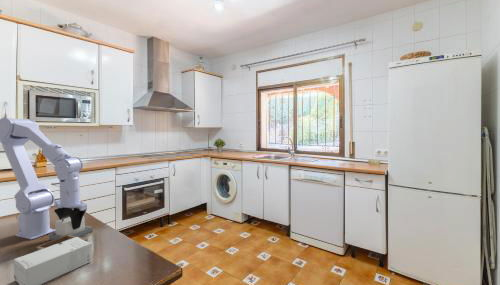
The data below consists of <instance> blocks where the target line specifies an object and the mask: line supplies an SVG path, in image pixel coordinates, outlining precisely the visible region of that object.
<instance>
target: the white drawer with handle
mask: <svg viewBox="0 0 500 285" xmlns="http://www.w3.org/2000/svg"><path fill="white" fill-rule="evenodd" d="M85 218H86V217H85V216H84V215H83V218H82V221H81V225H80V228H77V229H73V228H72V223H71V218H70V216H67V217H63V218H62V219H61V220H60V219H58V220H55V221H54V227H55V228H54V229H55V231H54V233H55V232H56V235H57V236H61V237H62V236H65V235H72V234H74V233H77V232H79V231H82V230H84V229H85V226H86V219H85Z"/></svg>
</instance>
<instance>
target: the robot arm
mask: <svg viewBox="0 0 500 285" xmlns="http://www.w3.org/2000/svg"><path fill="white" fill-rule="evenodd" d="M29 141H31V142H32V143H33V144H35V145H36V146H38V147H39V148H40V149H41V151H42V152H41V154H42V156H44V157H45V158H46V159H47V160H48V161H49V162H50V163H52V165H53V166H54V167H53V170H54V172H55V173H56V175H57V179H58V180H59V200H56V199H55V194H54V192H52V191H51V189H49V186H48V185H45V183H41V182H40V181H39V179H38V176H37V174H36V171H35V169H34V167H33V165H32V161H31V160H30V158H29V155H28V153H27V150H26V148H25V144H26V143H28V142H29ZM0 143H1V145H2V148H3V151H4V152H5V156H6V157H7V160H8V162H9V164H10V167H11V170H12V171H13V174H14V176H15V179H16V181H17V183H18V186H19V188H20V189H18V191H17V192H16V193H15V194H14V199H15V208H16V210H17V211H18V212H19V213H20V214H19V215H18V216H17V217H18V218H17V224H18V225H17V227H18V233H17V234H15V237H19V238H24V239H28V240H34V239H37V238H40V237H42V236H45V235H47V234H48V235H49V234H52V233H55V228H54V229H53V228H51V226H50V224H51V223H50V209H51V207H52V205H53V204H54V205H53V206H54V207H55V209H54V211H53V212H54V213H55V214H56V215H57V217H58V218H59V219H58V220H61V219H62V218H63V217H67V216H70V218H71V223H72V228H73V229H77V228H80V225H81V221H82V218H83V216H84V215H85V213H86V212H87V210H88V204H87V203H84V202H82V201H81V194H80V172H81V171H82V169H83V167H84V165H83V161H82V159H80V157H78V156H74V155H71V154H70V153H68V152H67V151H66V150H65V149H64V148H63V145H61V144H58V143H52V141H51V140H50V139H48V137H47V136H46V135H45V134H44V133H43V132H42V131H41V130H40V125H39V124H38V123H37V122H36V121H35V120H34V119H32V118H11V117H10V118H9V117H1V118H0Z"/></svg>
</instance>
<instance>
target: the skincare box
mask: <svg viewBox="0 0 500 285" xmlns="http://www.w3.org/2000/svg"><path fill="white" fill-rule="evenodd" d="M80 238H81V237H80ZM80 238H79V237H75V238H72V239H69V240H66V241H63V242H61V243H58V244H55V245H52V246H49V247H47V248H44V249H41V250H38V251H36V252H35V251H33V252H30V253H27V254H25V255H23V256H22V255H21V256H18V257H16V258H14V259H13V261H12V263H13V264H12V265H13V275H14V276H13V278H14V281H16V282H17V283H18V285H43V284H45V283H47V282H50V281H52V280H54V279H56V278H58V277H61V276H62V275H66V274H67V273H69V272H72V271H74V270H76V269H78V268H80V267H82V266H85V265H87V264H89V263H91V262H92V247H93V246H92V242H89V241H88V242H87V241H84V240H82V239H80Z"/></svg>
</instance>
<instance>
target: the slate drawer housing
mask: <svg viewBox="0 0 500 285" xmlns="http://www.w3.org/2000/svg"><path fill="white" fill-rule="evenodd" d="M88 233H89V234H91V233H93V226H89V225H85V229H84V230H82V231H79V232H77V233H74V234H72V235H71V236H76V237H80V238H83V236H86V234H87V235H89V234H88ZM60 237H61V236H57V235H56V232H55V231H54V232H51V233H48V240H49V241H52V240H54V239H57V238H60Z"/></svg>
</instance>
